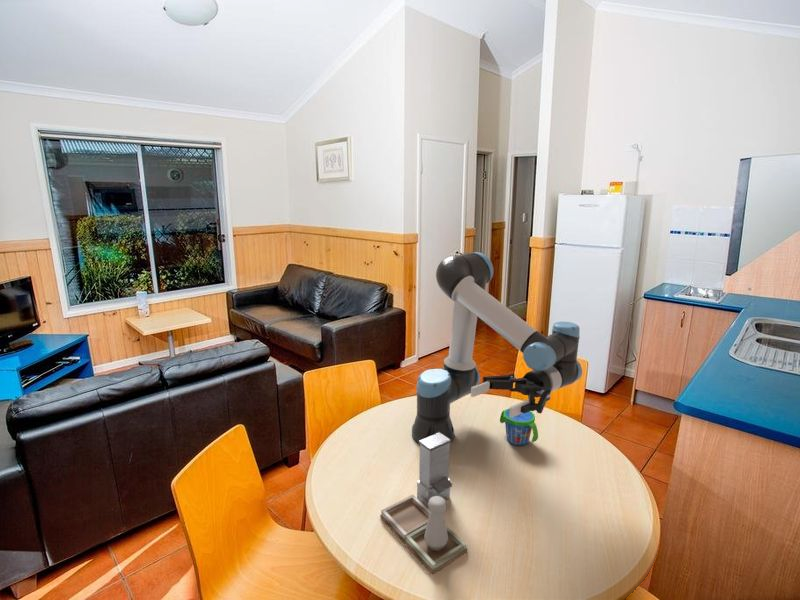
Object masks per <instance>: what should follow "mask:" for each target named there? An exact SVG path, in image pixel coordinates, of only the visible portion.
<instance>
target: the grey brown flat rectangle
mask: <svg viewBox="0 0 800 600" xmlns="http://www.w3.org/2000/svg"><path fill="white" fill-rule="evenodd" d="M380 511H381V514H380V520H382V521H383V522H384V523H385V525H386V526H388V528H389V529H390V530H391V531H392V532H393V533H394V535H396V537H398V538H399V540H400V541H401V542H402V543H403V545H405V546H406V547H407V548H408V549H409V551H410V552H411V553H412V554H413V555H414V556H415V557H416V558H417V560H418V561H419V562H420V563H421V564H422V565H423V566H424V567H425V568H426V569H427V570H428V571H429V572H430V574H431V575H435V574H436V573H438V572H439V571H441V570H442V569H444V568H446V567H447V566H448V565H450V564H452V563H454V561H457V560H458V559H459V558H461V557H462V556H464V555H465V554H467V553H468V551H469V550H468V548H467V546H468V545H467V543H466V541H464V540H463V539H462V538H461V537H460V536H459V535H458V534H457V533H456V532H454V531H453V530H452V529H451V528H450V527H449V526H448V525H446V528H447V534H448V541H447V544H446V546H445V547H444V548H443V549H442V550H440V551H439V552H437V551H433V550H431V549H430V548H429V546H428V545H427V543H426V541H425V538H424V535H425V531H426V527H427V522H428V518H429V514H430V510H429V509H428V508H427V507H426V506H425V505H424V504H422V503H421V502H420V501H419V500H418V499H417V496H415V495H414V494H411V495H410V496H407V497H405V498H403V499H402V500H399V501H397V502H395V503H392V504H391V505H389V506H387V507H385V508H383V509H382V510H380Z"/></svg>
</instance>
